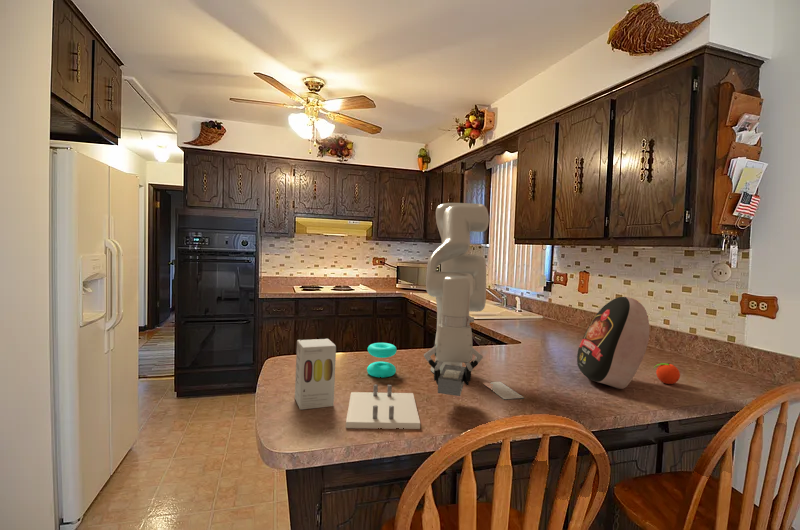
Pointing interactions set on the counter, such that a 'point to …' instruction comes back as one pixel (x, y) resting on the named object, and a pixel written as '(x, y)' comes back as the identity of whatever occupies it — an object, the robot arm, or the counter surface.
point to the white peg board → (382, 410)
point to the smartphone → (505, 391)
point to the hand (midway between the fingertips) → (452, 382)
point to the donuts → (381, 367)
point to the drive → (451, 380)
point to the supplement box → (315, 373)
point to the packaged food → (615, 343)
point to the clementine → (667, 373)
